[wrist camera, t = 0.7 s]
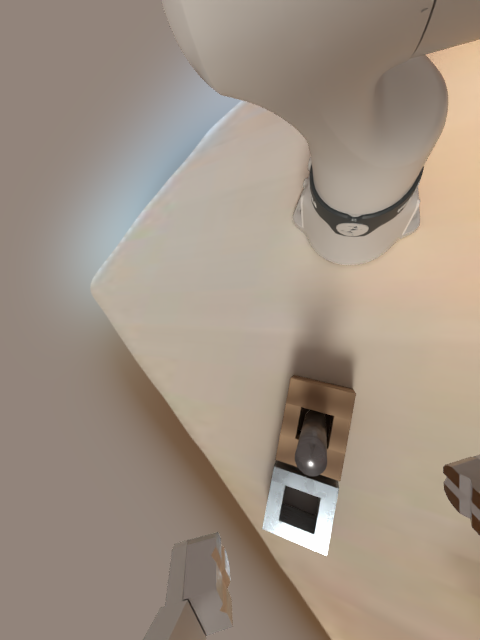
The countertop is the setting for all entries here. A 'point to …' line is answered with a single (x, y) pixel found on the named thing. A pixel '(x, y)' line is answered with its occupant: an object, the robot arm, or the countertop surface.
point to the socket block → (295, 521)
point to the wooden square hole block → (325, 401)
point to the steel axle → (312, 445)
